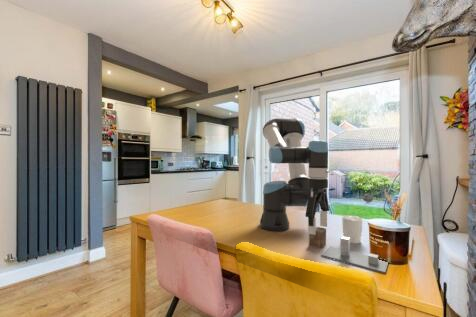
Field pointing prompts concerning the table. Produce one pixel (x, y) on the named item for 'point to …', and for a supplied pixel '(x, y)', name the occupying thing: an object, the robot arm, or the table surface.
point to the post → (345, 246)
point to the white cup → (352, 228)
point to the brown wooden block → (318, 238)
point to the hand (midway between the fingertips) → (318, 229)
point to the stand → (358, 259)
